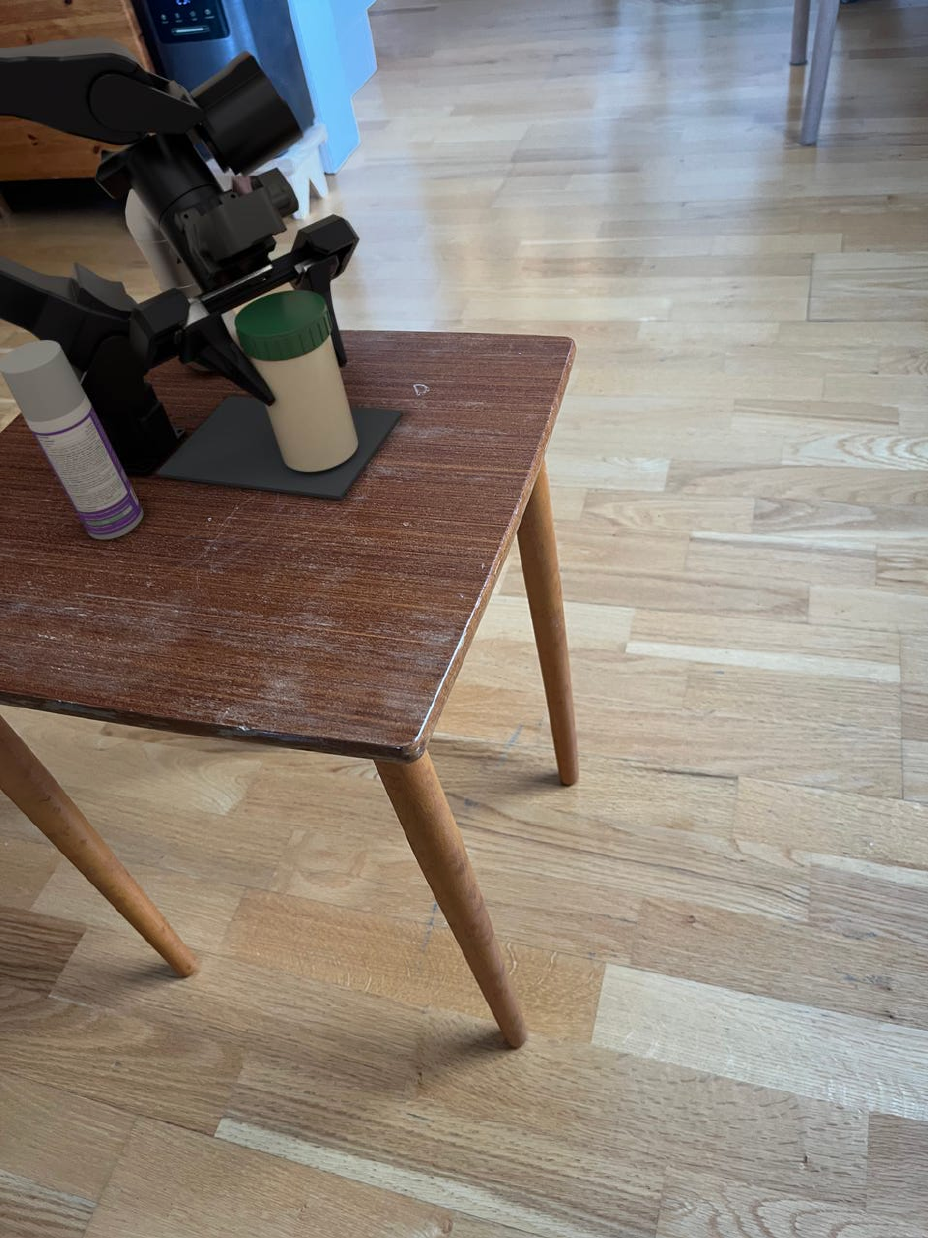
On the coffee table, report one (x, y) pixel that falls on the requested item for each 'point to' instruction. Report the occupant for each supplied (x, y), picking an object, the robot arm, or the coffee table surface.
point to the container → (71, 438)
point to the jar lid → (283, 325)
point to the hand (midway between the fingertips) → (309, 384)
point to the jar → (309, 409)
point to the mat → (269, 452)
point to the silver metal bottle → (165, 260)
